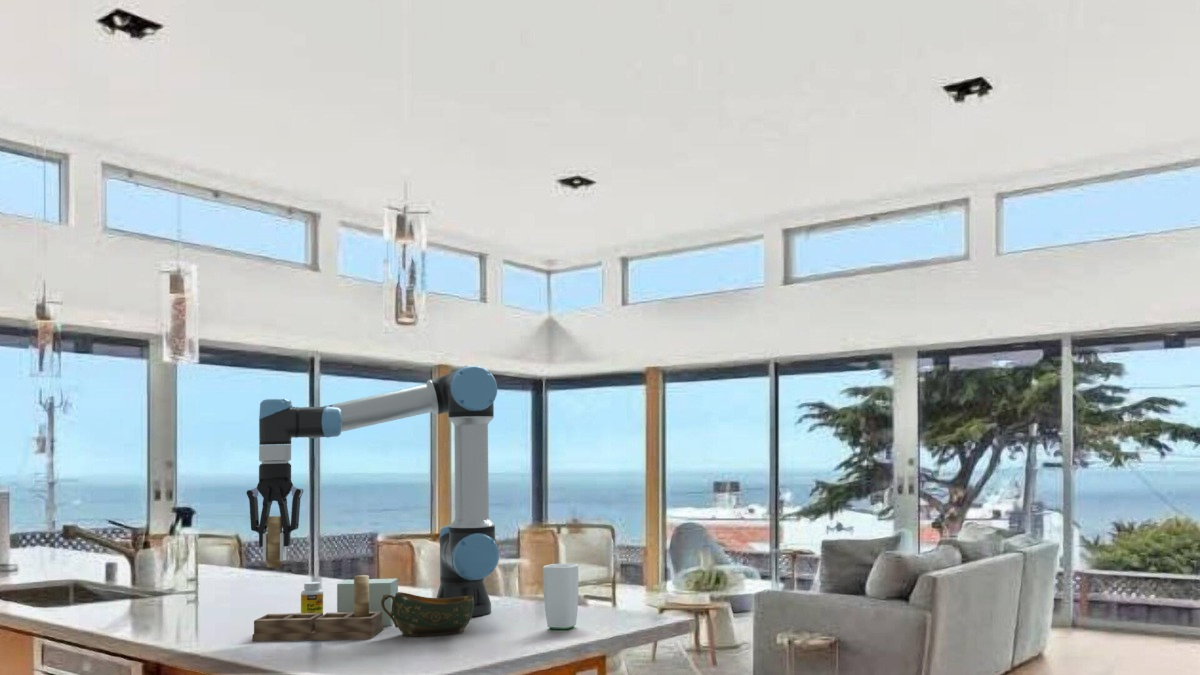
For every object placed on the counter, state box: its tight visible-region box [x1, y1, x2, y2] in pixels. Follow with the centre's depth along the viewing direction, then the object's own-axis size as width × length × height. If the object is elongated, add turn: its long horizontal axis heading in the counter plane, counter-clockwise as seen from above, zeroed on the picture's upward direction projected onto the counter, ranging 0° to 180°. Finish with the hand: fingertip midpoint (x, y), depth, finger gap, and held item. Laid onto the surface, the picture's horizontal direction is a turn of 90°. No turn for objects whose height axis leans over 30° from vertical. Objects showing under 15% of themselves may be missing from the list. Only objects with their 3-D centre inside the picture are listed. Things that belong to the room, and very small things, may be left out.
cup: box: [542, 563, 579, 630], centre depth 261 cm, size 7×7×15 cm
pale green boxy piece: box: [336, 578, 399, 627], centre depth 275 cm, size 14×9×10 cm, turn 89°
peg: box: [266, 515, 283, 569], centre depth 261 cm, size 4×4×12 cm
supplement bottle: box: [300, 581, 324, 614], centre depth 277 cm, size 6×6×10 cm
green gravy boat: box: [381, 591, 474, 638], centre depth 258 cm, size 13×20×10 cm, turn 78°
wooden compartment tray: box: [252, 574, 384, 642], centre depth 259 cm, size 28×12×14 cm, turn 89°
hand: (274, 560), depth 261 cm, fingers closed on peg, 3 cm apart
